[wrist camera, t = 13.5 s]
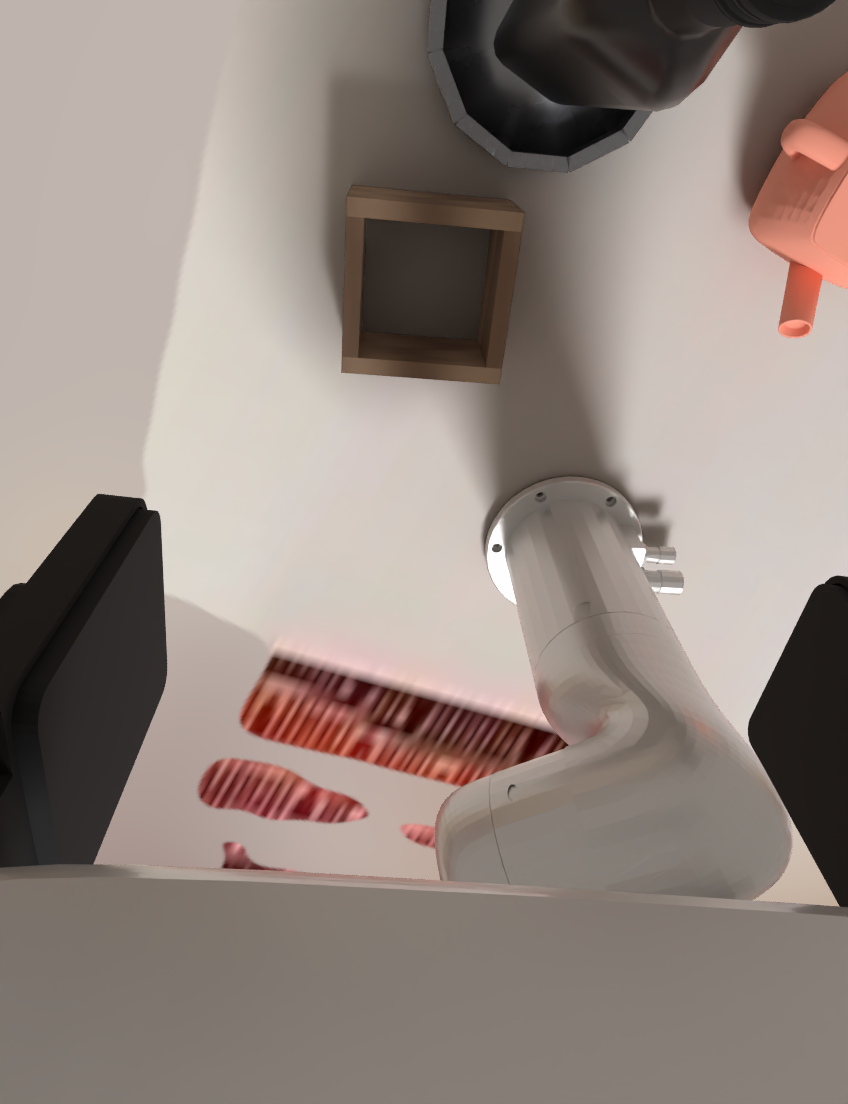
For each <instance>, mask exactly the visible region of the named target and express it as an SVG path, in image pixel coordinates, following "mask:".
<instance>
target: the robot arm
mask: <svg viewBox="0 0 848 1104" xmlns="http://www.w3.org/2000/svg"><path fill="white" fill-rule="evenodd" d="M540 492H542V493H541V494H538V493H540ZM609 497H610V498H609ZM607 498H609V499H607ZM642 542H643V538H642V528H641V525H640V522H639V519H638V517H637V514H636V513H635V511H634V509H633V507H632V506H631V504H630V503H629V502H628V501H627V500H626V498H625V497H624V496H623V495H622V494H621V493H619V492H618V491H617V490H615V489H614V488H613V487H611V486H609V485H607V484H605V483H603V482H601V481H598V480H594V479H590V478H586V477H573V476H568V477H559V478H552V479H549V480H545V481H542V482H538V483H536V484H534V485H532V486H530V487H528V488H526V489H524V490H523V491H521V492H520V493H518V494H517V495H515V496H514V497H512V498H511V499H510V500H509V501H508V502H507V503H506V504H505V505H504V506H503V507H502V508H501V510H500V511H499V513H498V514H497V515H496V517H495V518H494V520H493V522H492V524H491V527H490V529H489V531H488V535H487V539H486V544H485V557H486V562H487V568H488V571H489V574H490V576H491V579H492V581H493V583H494V584H495V586H496V587H497V589H498V590H499V591H500V592H501V593H502V594H503V595H504V596H505V597H506V598H507V599H508V600H510V601H511V602H512V603H514V604H515V605H516V606H517V610H518V614H519V618H520V623H521V627H522V631H523V635H524V639H525V644H526V648H527V652H528V656H529V661H530V665H531V669H532V673H533V677H534V682H535V687H536V691H537V695H538V699H539V703H540V706H541V708H542V711H543V713H544V715H545V716H546V718H547V720H548V722H549V723H550V725H551V726H552V728H553V729H554V730H555V731H556V732H557V734H558V735H559V736H560V737H561V738H562V739H563V740H564V741H565V742H566V743H567V744H569V745H570V746H567V747H565V749H562V750H559V751H556V752H553V753H551V754H548V755H545V756H542V757H539V758H536V759H533V760H531V761H528V762H525V763H522V764H519V765H516V766H513V767H511V768H508V769H505V770H502V771H499V772H496V773H494V774H492V775H489V776H486V777H483V778H481V779H478V780H476V781H473V782H471V783H469V784H466V785H464V786H462V787H461V788H459V789H457V790H456V791H455V792H453V793H452V794H451V795H450V796H449V797H448V798H447V799H446V800H445V801H444V803H443V804H442V805H441V807H440V810H439V813H438V815H437V819H436V823H435V849H436V858H437V865H438V870H439V875H440V880H441V881H439V880H423V879H407V878H389V877H373V876H357V875H356V876H355V875H339V874H323V873H322V874H321V873H307V872H290V871H267V870H244V869H221V868H199V867H174V866H152V865H93V863H94V861H95V858H96V856H97V854H98V851H99V848H100V846H101V844H102V841H103V839H104V836H105V834H106V831H107V829H108V827H109V824H110V821H111V819H112V816H113V814H114V812H115V809H116V807H117V804H118V802H119V799H120V797H121V795H122V792H123V790H124V787H125V785H126V782H127V780H128V777H129V775H130V772H131V770H132V768H133V765H134V763H135V760H136V758H137V755H138V753H139V750H140V748H141V745H142V743H143V740H144V738H145V736H146V733H147V731H148V728H149V726H150V723H151V720H152V718H153V716H154V714H155V711H156V708H157V706H158V704H159V701H160V699H161V696H162V694H163V691H164V687H165V683H166V676H167V651H166V627H165V605H164V583H163V561H162V539H161V520H160V515H159V513H158V511H153V510H147V507H146V504H145V501H144V500H143V499H141V498H132V497H123V496H114V495H105V494H97V495H96V496H95V497H94V498H93V499H92V501H91V502H90V503H89V504H88V506H87V507H86V508H85V509H84V511H83V512H82V513H81V515H80V516H79V517H78V518H77V520H76V521H75V522H74V523H73V525H72V526H71V527H70V529H69V530H68V531H67V532H66V534H65V535H64V536H63V537H62V539H61V540H60V541H59V542H58V544H57V545H56V546H55V548H54V549H53V550H52V551H51V553H50V554H49V555H48V556H47V558H46V559H45V560H44V562H43V563H42V564H41V565H40V567H39V568H38V569H37V570H36V572H35V573H34V574H33V576H32V577H31V578H30V579H29V580H28V582H27V583H19V584H15V585H13V586H12V587H11V588H10V589H9V590H7V591H6V592H5V593H4V595H3V596H2V597H1V598H0V1104H848V577H845V576H834V577H831V578H830V579H829V580H827V581H826V582H825V584H821V585H818V586H817V587H816V588H815V589H814V590H813V592H812V594H811V596H810V598H809V600H808V602H807V604H806V606H805V608H804V610H803V612H802V614H801V616H800V618H799V620H798V622H797V624H796V626H795V628H794V630H793V632H792V634H791V636H790V638H789V640H788V642H787V644H786V646H785V649H784V651H783V653H782V655H781V657H780V659H779V661H778V663H777V665H776V667H775V669H774V671H773V673H772V675H771V677H770V679H769V681H768V683H767V685H766V687H765V689H764V691H763V693H762V695H761V697H760V699H759V701H758V703H757V705H756V708H755V710H754V712H753V714H752V716H751V718H750V721H749V725H748V736H749V741H750V743H751V746H752V748H753V749H754V751H755V753H756V754H755V753H754V751H753V750H752V749H751V748H750V746H749V745H748V744H747V743H746V742H745V740H744V739H743V738H742V737H741V735H740V734H739V733H738V732H737V731H736V729H735V728H734V727H733V726H732V724H731V723H730V722H729V721H728V719H727V718H726V717H725V716H724V714H723V713H722V712H721V711H720V709H719V708H718V706H717V705H716V703H715V702H714V701H713V699H712V698H711V696H710V695H709V693H708V692H707V690H706V689H705V687H704V685H703V684H702V682H701V680H700V679H699V677H698V675H697V673H696V671H695V670H694V668H693V666H692V664H691V662H690V661H689V659H688V657H687V655H686V653H685V651H684V649H683V647H682V645H681V643H680V642H679V640H678V638H677V636H676V634H675V632H674V630H673V628H672V626H671V624H670V622H669V620H668V618H667V617H666V615H665V613H664V611H663V609H662V607H661V605H660V603H659V601H658V599H657V597H656V595H655V593H657V594H670V595H679V594H681V592H682V590H683V585H684V579H683V575H682V573H681V572H680V571H668V570H657V571H648V570H645V569H644V567H643V566H642V565H644V564H645V563H646V562H651V563H656V564H671V565H672V564H674V562H675V559H676V551H675V548H674V547H663V546H657V547H649V546H647V545H646V544H645V543H642ZM497 543H498V544H497ZM495 544H496V545H495ZM788 813H789V815H790V817H791V818H792V820H793V822H794V824H795V826H796V828H797V829H798V831H799V833H800V835H801V837H802V839H803V840H804V842H805V844H806V846H807V848H808V849H809V851H810V853H811V855H812V857H813V859H814V860H815V862H816V864H817V866H818V868H819V869H820V871H821V873H822V875H823V877H824V879H825V880H826V882H827V884H828V886H829V888H830V890H831V891H832V893H833V895H834V897H835V899H836V900H837V902H838V904H839V906H840V907H837V906H822V905H809V904H795V903H780V902H766V901H752V900H754V899H756V898H757V897H759V896H760V895H762V894H763V893H765V892H766V891H767V890H768V889H770V888H771V887H772V886H773V885H774V884H775V883H776V882H777V881H778V880H779V879H780V877H781V876H782V874H783V873H784V872H785V870H786V868H787V866H788V863H789V860H790V857H791V854H792V847H793V835H792V827H791V822H790V819H789V815H788Z"/></svg>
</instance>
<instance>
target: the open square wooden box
mask: <svg viewBox="0 0 848 1104" xmlns="http://www.w3.org/2000/svg"><path fill="white" fill-rule="evenodd" d="M367 218H371V219H382V220H394V221H405V222H416V223H427V224H438V225H449V226H460V227H471V228H482V229H491V233H490V241H489V249H488V257H487V265H486V273H485V281H484V289H483V297H482V305H481V313H480V321H479V329H478V337H477V340H464V339H452V338H439V337H426V336H414V335H401V334H388V333H375V332H363V331H362V314H363V291H364V268H365V245H366V222H367ZM523 220H524V212H523V211H522V210H521V209H520V208H519V207H517V206H516V205H515V204H514V203H513V202H512V201H511V200H505V199H495V198H484V197H473V196H463V195H452V194H441V193H431V192H420V191H409V190H398V189H388V188H377V187H366V186H356V185H352V186H351V188H350V191H349V193H348V195H347V203H346V236H345V270H344V303H343V336H342V369H341V373H355V374H368V375H382V376H395V377H408V378H422V379H435V380H449V381H462V382H475V383H489V384H500V378H501V371H502V364H503V357H504V350H505V343H506V337H507V330H508V323H509V316H510V309H511V302H512V295H513V289H514V282H515V275H516V268H517V261H518V254H519V247H520V240H521V234H522V227H523Z"/></svg>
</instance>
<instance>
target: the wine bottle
mask: <svg viewBox="0 0 848 1104" xmlns="http://www.w3.org/2000/svg"><path fill="white" fill-rule="evenodd" d="M834 1H835V0H513V2H512V3H511V5H510V7H509V9H508V11H507V13H506V14H505V16H504V18H503V20H502V22H501V24H500V25H499V27H498V29H497V31H496V35H495V39H494V42H493V44H494V50H495V55H496V57H497V58H498V59H499V61H500V62H501V63H502V65H504V66H505V67H506V68H508V69H509V70H510V71H512V72H513V73H514V74H516V75H517V76H518V77H519V78H521V79H522V80H523V81H525V82H526V83H527V84H529V85H530V86H531V87H533V88H534V89H535V90H536V91H538V92H539V93H540V94H542V95H543V96H544V97H546V98H547V99H548V100H550V101H551V102H554V103H557V104H560V105H573V106H587V107H601V108H615V109H628V110H642V111H656V112H657V111H661V110H664V109H668V108H672V107H674V106H676V105H678V104H680V103H681V102H682V101H683V100H684V99H685V98H686V97H687V96H689V95H690V94H691V93H692V92H693V91H694V90H695V89H696V88H698V87H699V86H700V85H701V84H702V83H703V82H704V81H705V80H706V78H707V77H708V75H709V74H710V72H711V71H712V70H713V68H714V67H715V65H716V64H717V62H718V61H719V59H720V58H721V57H722V55H723V54H724V52H725V51H726V49H727V48H728V46H729V45H730V44H731V42H732V41H733V39H734V38H735V36H736V35H737V33H738V32H739V31H740V29H741V28H742V26H744V27H749V28H762V27H767V26H771V25H774V24H777V23H791V22H796V21H799V20H802V19H806V18H809V17H811V16H813V15H815V14H817V13H819V12H821V11H823V10H824V9H825V8H827V7H828V6H829V5H831V4H832V3H833V2H834Z"/></svg>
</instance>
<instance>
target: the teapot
mask: <svg viewBox="0 0 848 1104" xmlns="http://www.w3.org/2000/svg"><path fill="white" fill-rule="evenodd" d="M781 145H782V148H783V150H782V151H781V153H780V155H779V156H778V158H777V160H776V161H775V163H774V165H773V167H772V169H771V171H770V173H769V175H768V176H767V178H766V180H765V182H764V184H763V186H762V188H761V190H760V192H759V194H758V196H757V198H756V201H755V203H754V205H753V207H752V210H751V213H750V216H749V229H750V232H751V234H752V235H753V236H754V238H755V239H756V240H757V241H758V242H760V243H761V244H762V245H764V246H765V247H767V248H768V249H769V250H771V251H772V252H774V253H775V254H777V255H778V256H780V257H781V258H783V259H784V260H786V261H788V262H789V263H790V266H789V272H788V277H787V283H786V288H785V294H784V300H783V305H782V311H781V316H780V322H779V327H778V331H779V333H780V334H781V335H783V336H785V337H788V338H801V337H804V336H806V335H808V334H809V333H810V332H811V331H812V326H813V321H814V316H815V311H816V306H817V301H818V296H819V291H820V286H821V281H822V279H823V280H825V281H827V282H830V283H832V284H834V285H837V286H839V287H842V288H846V289H848V72H846V73H845V74H843V75H842V76H840V77H839V78H838V79H837V80H836V81H835V82H834V83H833V84H832V85H831V86H830V87H829V88H828V89H827V90H826V92H825V93H824V94H823V95H822V96H821V97H820V99H819V100H818V101H817V102H816V104H815V105H814V106H813V108H812V109H811V110H810V112H809V113H808V114H807V115H806V117H805V118H804V119H796V120H793V121H791V122H790V123H789V124H788V125H787V126H786V128H785V129H784V131H783V133H782V136H781Z"/></svg>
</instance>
